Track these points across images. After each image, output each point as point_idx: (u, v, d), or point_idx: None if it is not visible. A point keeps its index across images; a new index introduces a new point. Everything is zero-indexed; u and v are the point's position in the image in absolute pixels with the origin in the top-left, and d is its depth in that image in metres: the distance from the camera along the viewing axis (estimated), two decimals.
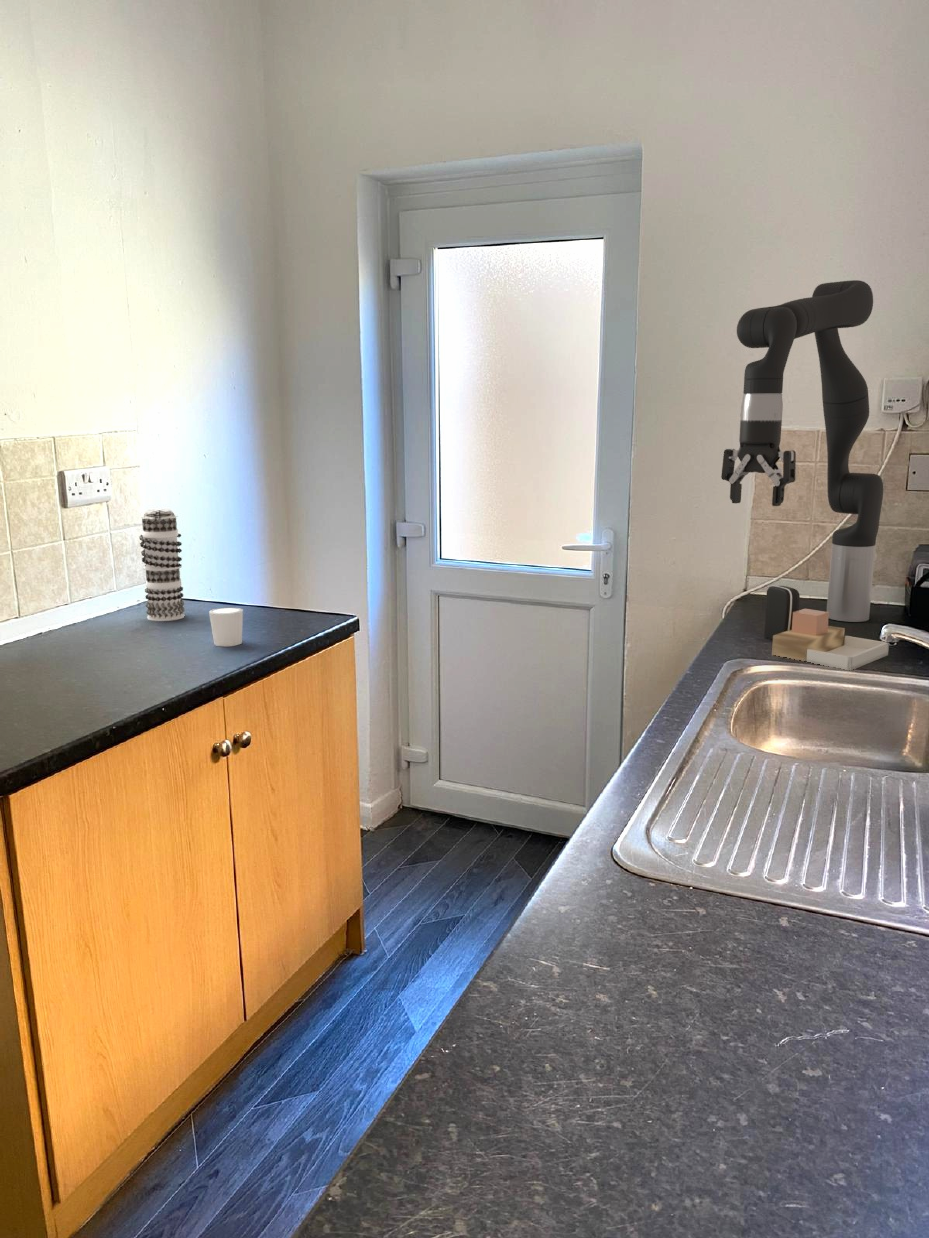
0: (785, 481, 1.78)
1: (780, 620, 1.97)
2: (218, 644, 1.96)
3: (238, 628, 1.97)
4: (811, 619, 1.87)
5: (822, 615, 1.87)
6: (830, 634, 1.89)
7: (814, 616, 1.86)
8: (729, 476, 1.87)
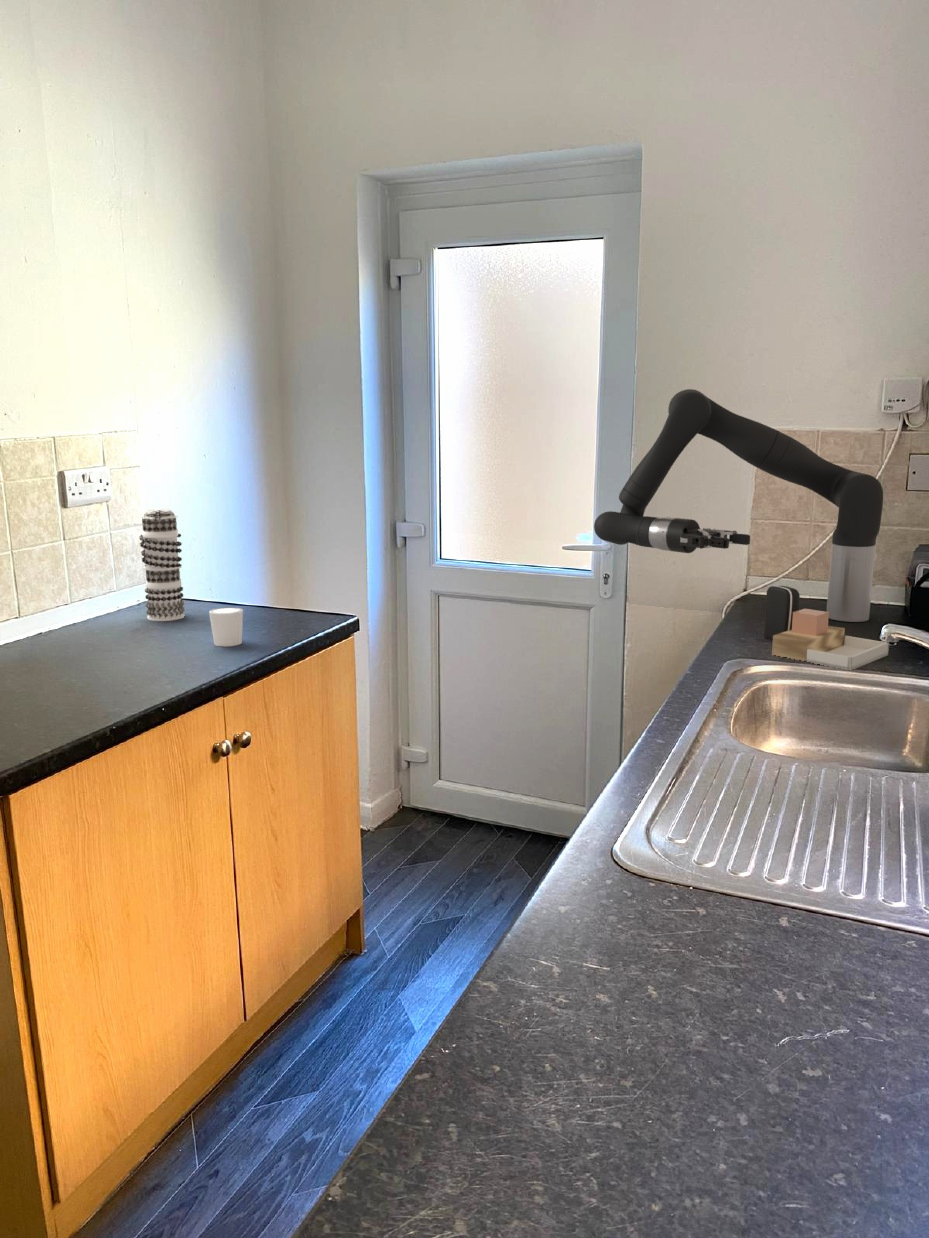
0: None
1: (780, 620, 1.97)
2: (218, 644, 1.96)
3: (238, 628, 1.97)
4: (811, 619, 1.87)
5: (822, 615, 1.87)
6: (830, 634, 1.89)
7: (814, 616, 1.86)
8: None
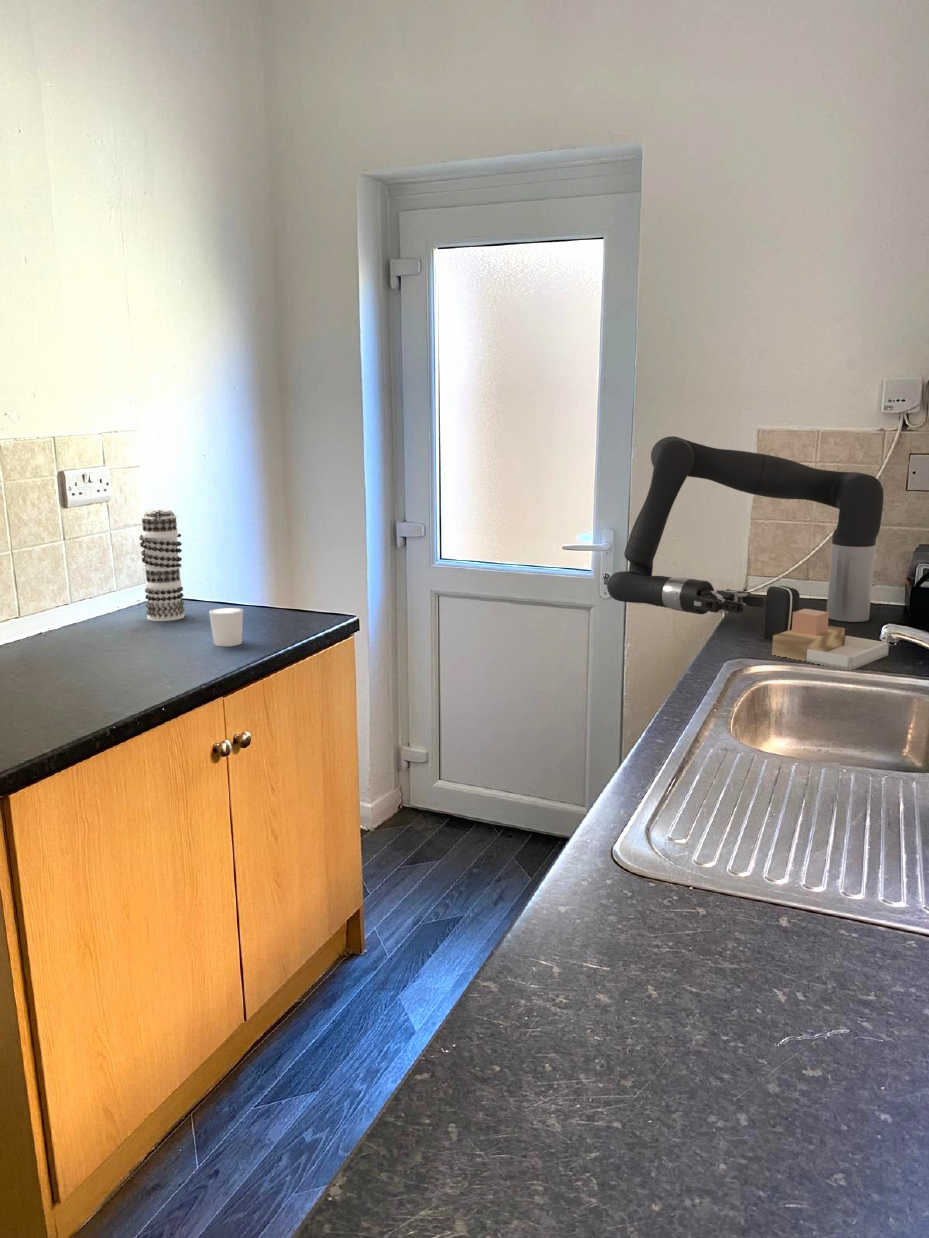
0: None
1: (780, 620, 1.97)
2: (218, 644, 1.96)
3: (238, 628, 1.97)
4: (811, 619, 1.87)
5: (822, 615, 1.87)
6: (830, 634, 1.89)
7: (814, 616, 1.86)
8: None
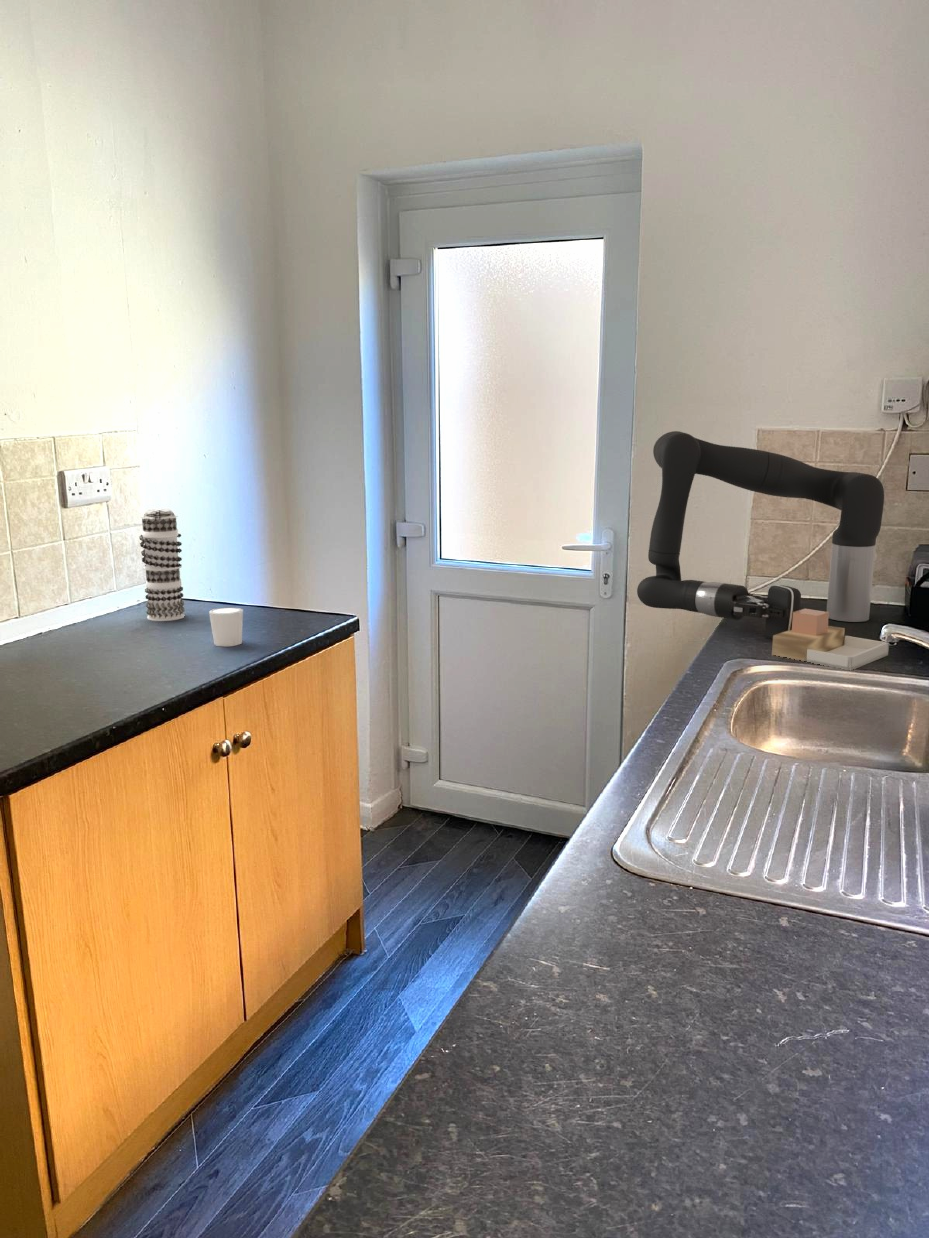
0: None
1: (781, 619, 1.97)
2: (218, 644, 1.96)
3: (238, 628, 1.97)
4: (811, 619, 1.87)
5: (822, 615, 1.87)
6: (830, 634, 1.89)
7: (814, 616, 1.86)
8: None
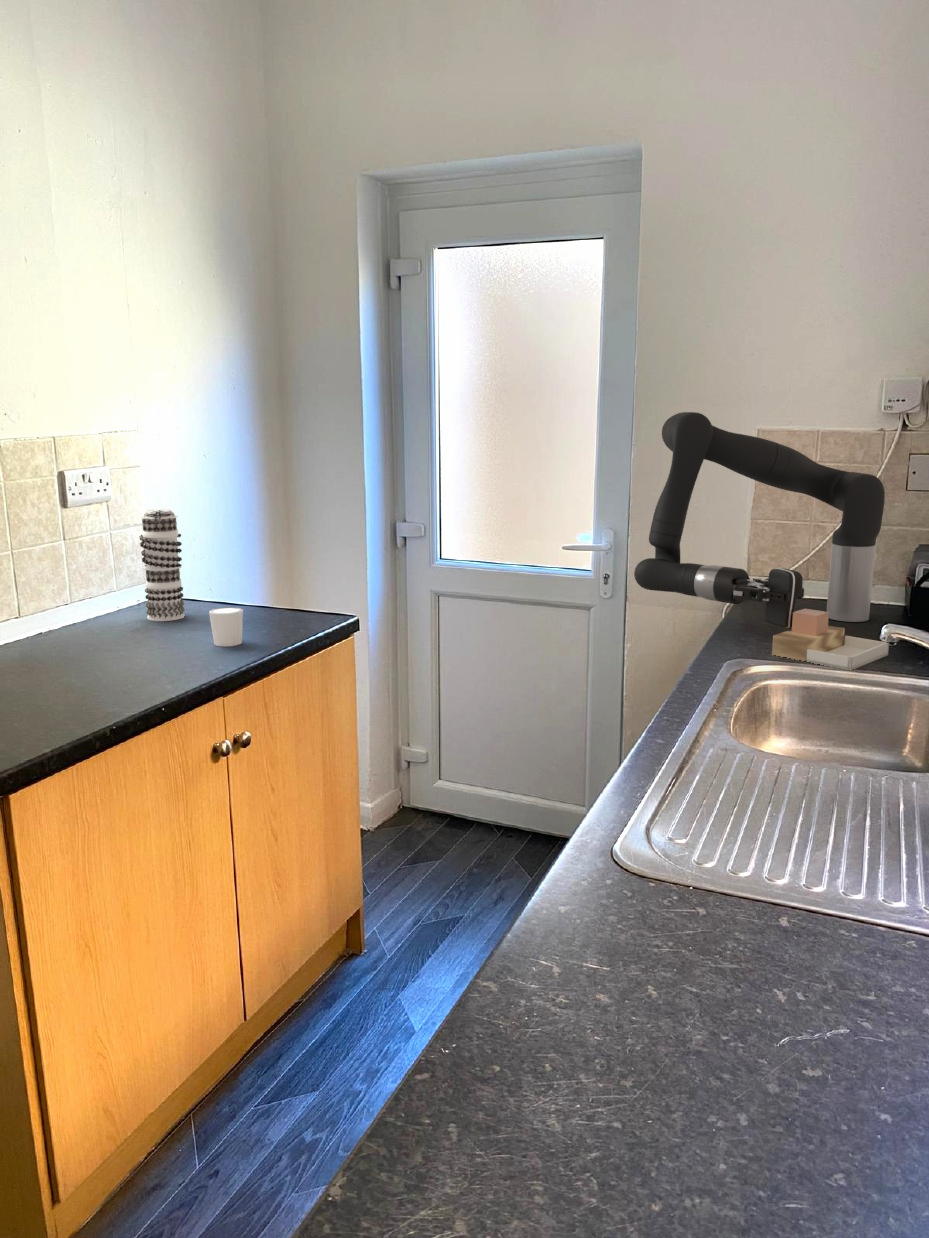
0: None
1: (782, 603, 1.91)
2: (218, 644, 1.96)
3: (238, 628, 1.97)
4: (811, 619, 1.87)
5: (822, 615, 1.87)
6: (830, 634, 1.89)
7: (814, 616, 1.86)
8: None
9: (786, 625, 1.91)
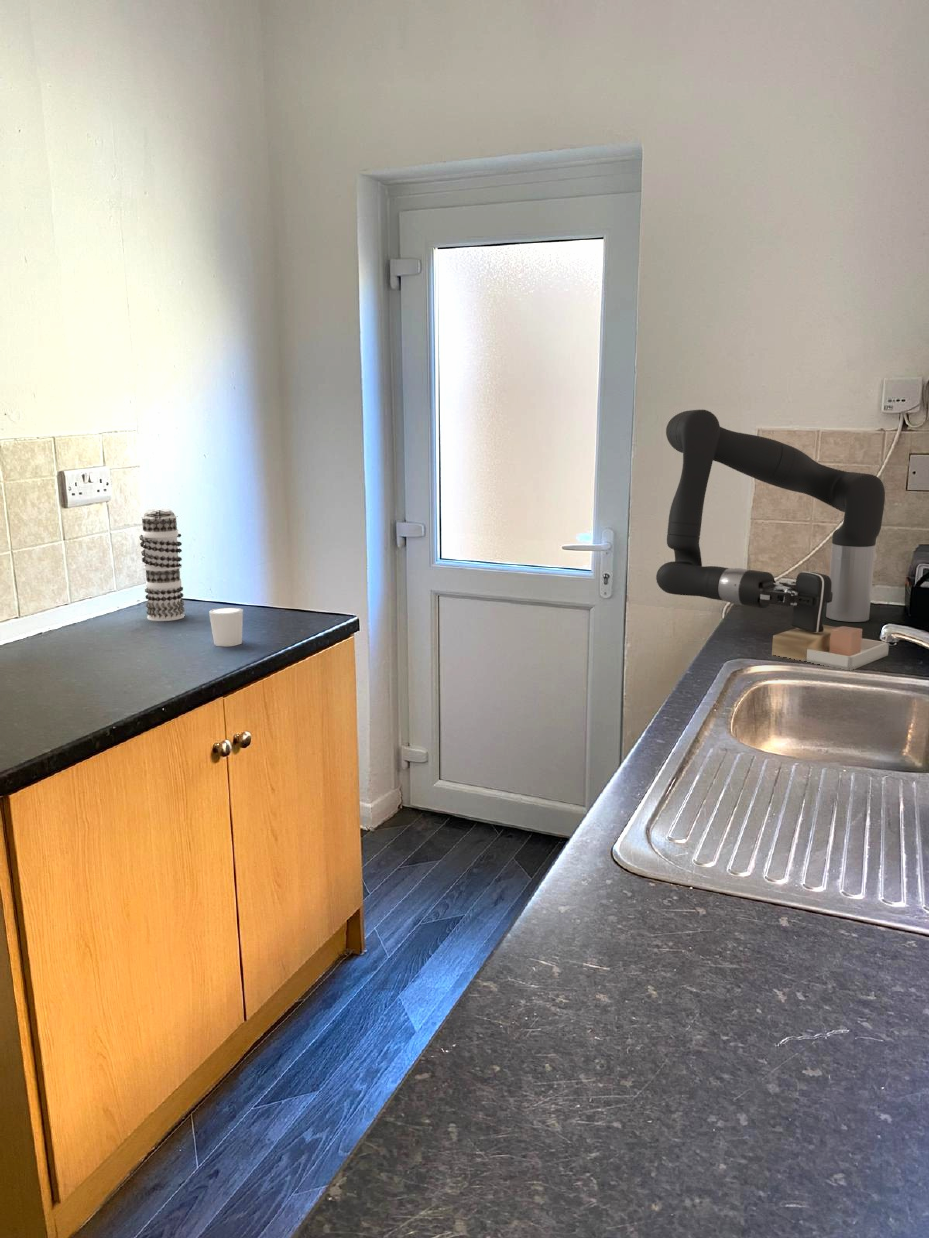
0: None
1: (810, 607, 1.87)
2: (218, 644, 1.96)
3: (238, 628, 1.97)
4: (845, 652, 1.83)
5: None
6: (830, 634, 1.89)
7: (848, 655, 1.83)
8: None
9: (814, 630, 1.87)
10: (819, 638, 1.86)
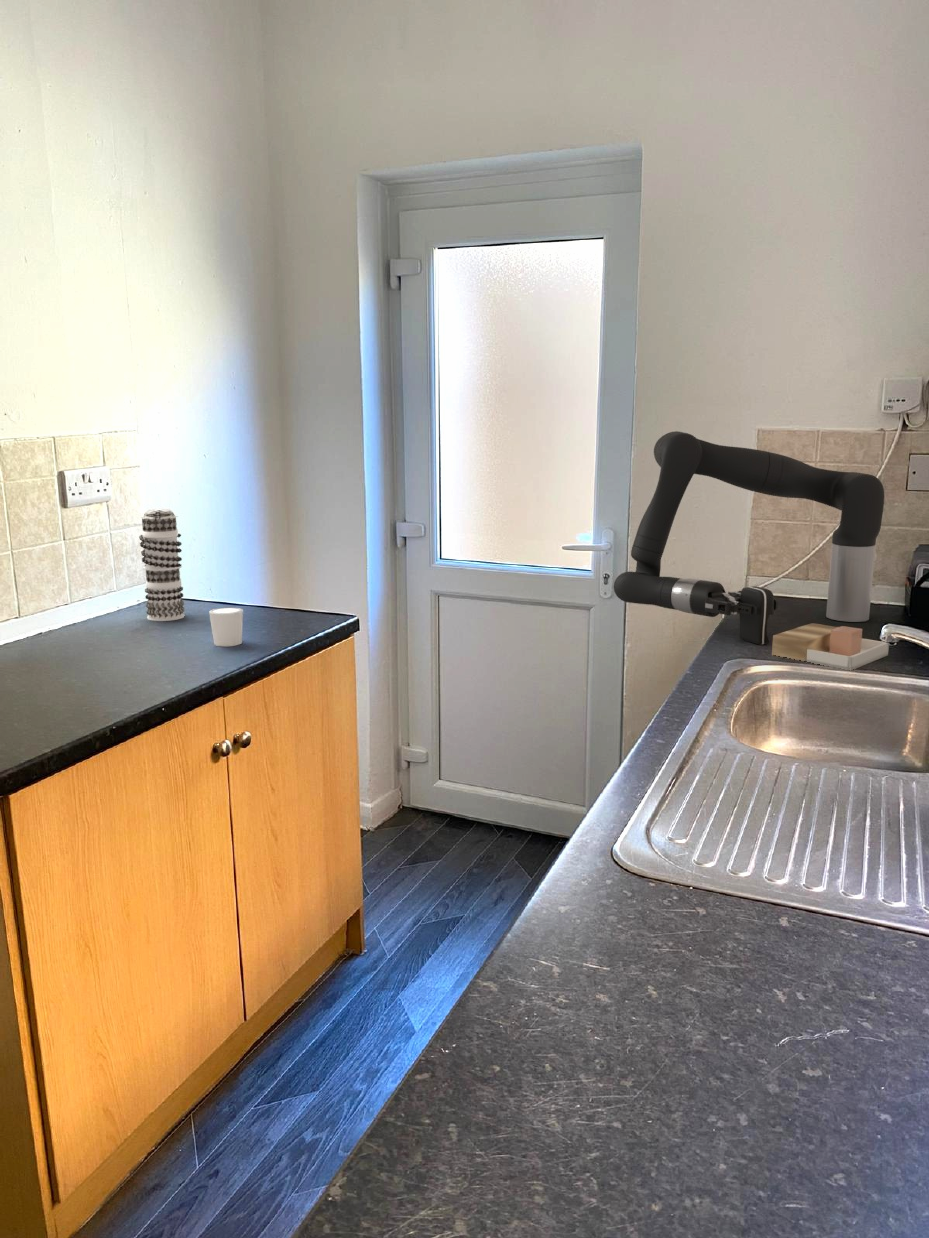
0: None
1: (755, 621, 1.96)
2: (218, 644, 1.96)
3: (238, 628, 1.97)
4: (845, 652, 1.83)
5: None
6: (830, 634, 1.89)
7: (848, 655, 1.83)
8: None
9: (760, 642, 1.96)
10: (819, 638, 1.86)
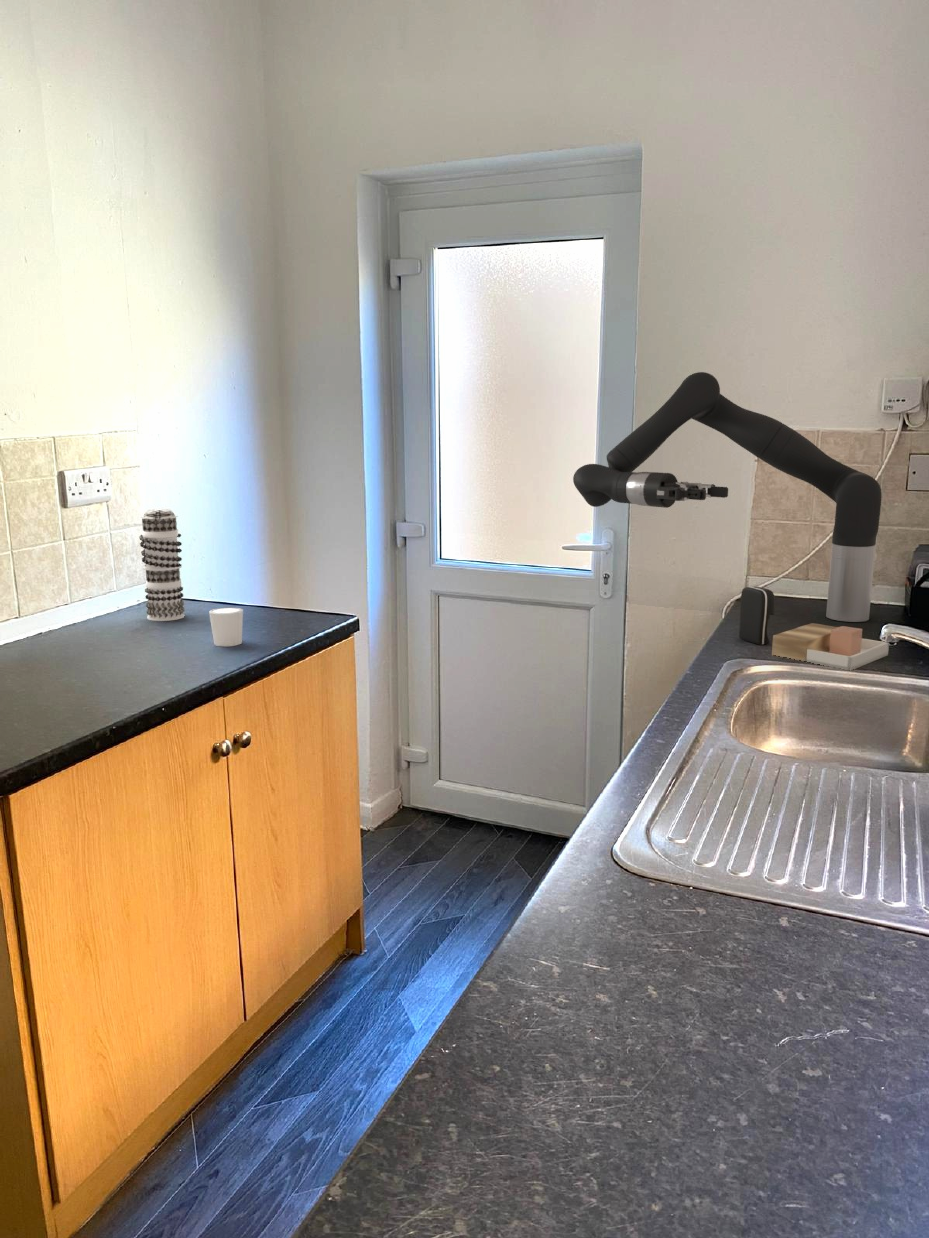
0: (679, 500, 2.00)
1: (755, 621, 1.96)
2: (218, 644, 1.96)
3: (238, 628, 1.97)
4: (845, 652, 1.83)
5: None
6: (830, 634, 1.89)
7: (848, 655, 1.83)
8: None
9: (760, 642, 1.96)
10: (819, 638, 1.86)
